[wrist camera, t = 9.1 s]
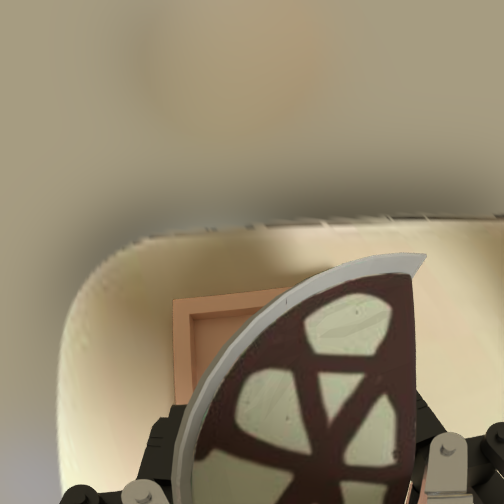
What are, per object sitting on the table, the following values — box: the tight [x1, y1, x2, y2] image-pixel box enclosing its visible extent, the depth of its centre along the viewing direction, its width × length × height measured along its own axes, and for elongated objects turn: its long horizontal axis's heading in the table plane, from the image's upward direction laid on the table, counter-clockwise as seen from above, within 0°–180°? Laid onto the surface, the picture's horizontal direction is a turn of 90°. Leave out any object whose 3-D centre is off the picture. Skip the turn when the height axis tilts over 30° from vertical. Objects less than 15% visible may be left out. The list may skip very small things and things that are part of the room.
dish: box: [173, 286, 293, 405], centre depth 14 cm, size 11×17×2 cm, turn 6°
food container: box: [171, 253, 427, 504], centre depth 9 cm, size 12×6×10 cm, turn 171°
